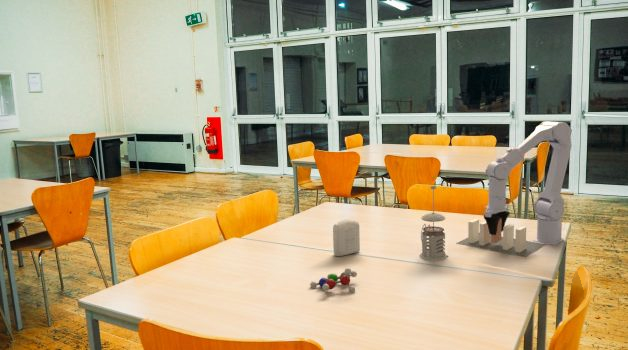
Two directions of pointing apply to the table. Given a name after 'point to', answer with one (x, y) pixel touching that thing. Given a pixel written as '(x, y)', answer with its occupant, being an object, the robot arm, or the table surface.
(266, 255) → the table surface
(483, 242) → the domino
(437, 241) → the french press
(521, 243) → the domino
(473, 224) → the domino
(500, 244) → the mat
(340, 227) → the photo printer
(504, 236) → the domino
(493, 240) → the terracotta domino
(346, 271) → the molecule model
